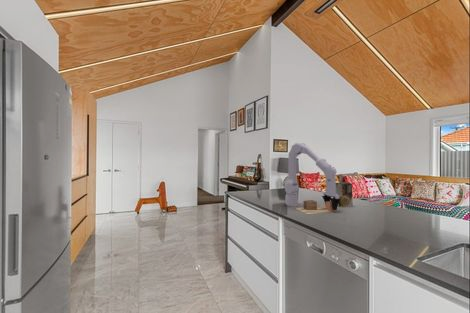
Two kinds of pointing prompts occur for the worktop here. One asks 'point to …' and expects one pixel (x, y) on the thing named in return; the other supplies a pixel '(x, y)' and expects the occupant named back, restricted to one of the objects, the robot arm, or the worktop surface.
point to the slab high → (310, 203)
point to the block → (329, 206)
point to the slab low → (310, 207)
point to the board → (319, 210)
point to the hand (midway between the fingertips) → (331, 208)
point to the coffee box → (344, 194)
